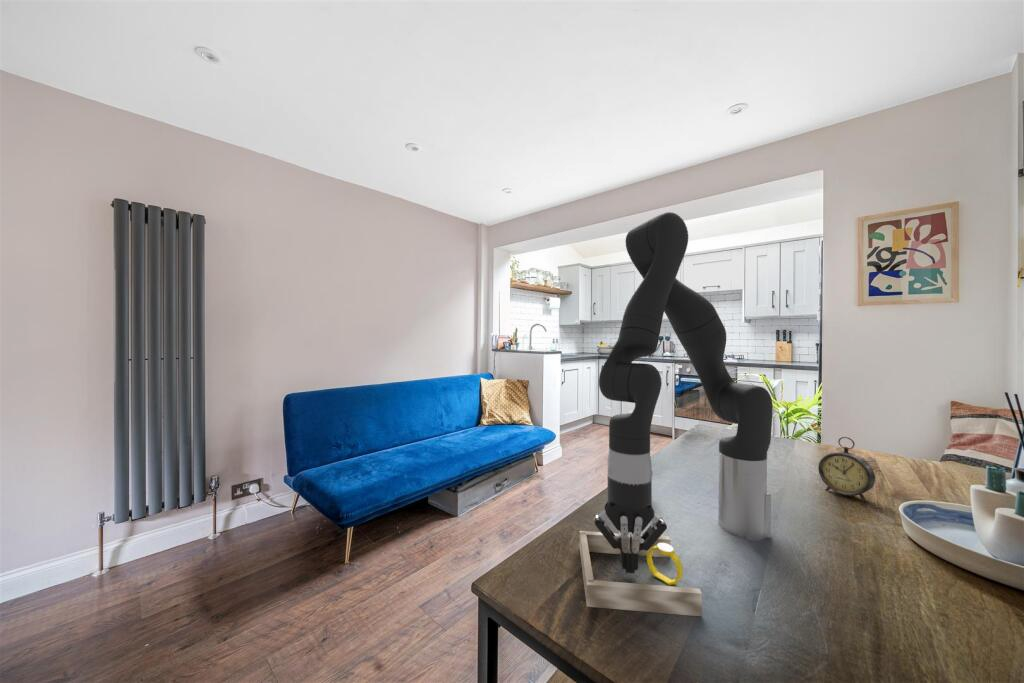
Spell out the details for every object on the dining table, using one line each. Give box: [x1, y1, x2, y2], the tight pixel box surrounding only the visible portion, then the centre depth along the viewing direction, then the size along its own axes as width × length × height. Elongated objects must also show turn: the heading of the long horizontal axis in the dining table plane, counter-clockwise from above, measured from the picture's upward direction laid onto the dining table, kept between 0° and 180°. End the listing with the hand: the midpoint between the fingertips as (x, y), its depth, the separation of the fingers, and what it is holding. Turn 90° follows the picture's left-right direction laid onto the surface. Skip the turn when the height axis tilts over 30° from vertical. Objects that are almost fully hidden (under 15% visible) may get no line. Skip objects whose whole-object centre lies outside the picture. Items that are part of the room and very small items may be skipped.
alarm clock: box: [817, 436, 876, 504], centre depth 99 cm, size 11×5×16 cm, turn 30°
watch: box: [646, 543, 684, 586], centre depth 64 cm, size 6×3×6 cm, turn 41°
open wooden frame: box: [579, 530, 703, 617], centre depth 65 cm, size 17×16×4 cm
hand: (628, 570), depth 65 cm, fingers closed
